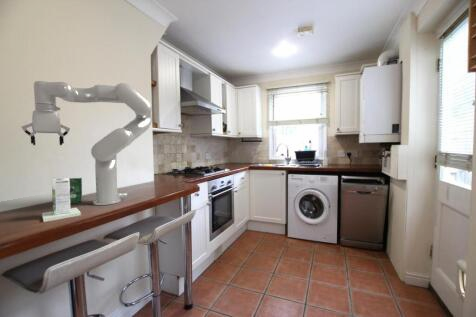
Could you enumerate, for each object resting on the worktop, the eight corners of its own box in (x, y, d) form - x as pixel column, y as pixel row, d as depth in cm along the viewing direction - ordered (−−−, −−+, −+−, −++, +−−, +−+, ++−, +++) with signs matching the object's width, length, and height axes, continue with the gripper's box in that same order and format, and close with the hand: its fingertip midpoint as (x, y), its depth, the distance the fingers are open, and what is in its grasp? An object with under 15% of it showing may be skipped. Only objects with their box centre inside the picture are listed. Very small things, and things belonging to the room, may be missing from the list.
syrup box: (53, 212, 95) (52, 178, 94) (71, 209, 98) (69, 177, 97) (52, 215, 90) (50, 180, 89) (71, 212, 94) (69, 179, 93)
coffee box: (83, 201, 118) (82, 177, 118) (82, 202, 116) (81, 177, 115) (64, 203, 115) (63, 178, 114) (63, 204, 112) (61, 179, 111)
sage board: (76, 210, 102) (76, 207, 102) (80, 215, 94) (80, 212, 94) (42, 215, 94) (41, 213, 94) (43, 222, 86) (43, 219, 86)
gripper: (67, 111, 112) (69, 145, 113) (20, 107, 100) (22, 145, 101) (70, 109, 107) (71, 145, 108) (20, 105, 95) (22, 145, 96)
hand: (48, 145), depth 104 cm, fingers open, 9 cm apart
